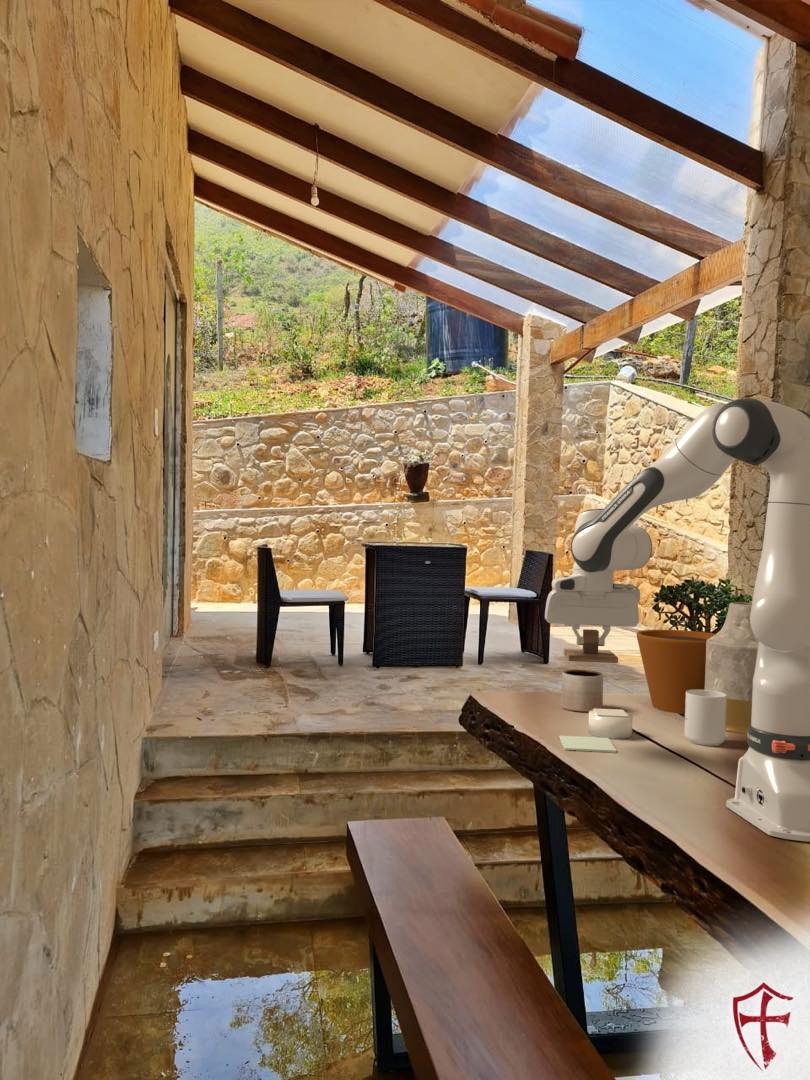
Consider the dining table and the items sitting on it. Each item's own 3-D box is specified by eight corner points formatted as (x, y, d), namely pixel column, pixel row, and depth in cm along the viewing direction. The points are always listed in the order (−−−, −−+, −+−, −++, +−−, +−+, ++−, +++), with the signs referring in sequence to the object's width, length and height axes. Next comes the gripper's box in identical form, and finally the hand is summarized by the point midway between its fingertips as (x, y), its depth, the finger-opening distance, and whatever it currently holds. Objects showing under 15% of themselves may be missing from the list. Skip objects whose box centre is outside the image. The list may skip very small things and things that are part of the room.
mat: (616, 752, 182) (616, 750, 182) (564, 750, 183) (564, 747, 183) (607, 740, 193) (608, 737, 193) (559, 737, 194) (559, 735, 194)
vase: (744, 715, 224) (748, 600, 223) (799, 732, 207) (804, 607, 206) (687, 719, 217) (692, 600, 217) (740, 737, 200) (745, 607, 200)
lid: (618, 663, 182) (619, 634, 182) (568, 661, 183) (569, 632, 183) (609, 655, 193) (610, 628, 193) (563, 653, 193) (564, 626, 193)
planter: (552, 705, 229) (553, 670, 229) (585, 703, 234) (586, 668, 234) (577, 714, 220) (578, 677, 219) (611, 711, 224) (612, 675, 224)
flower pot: (616, 701, 237) (618, 630, 237) (684, 697, 246) (686, 628, 246) (674, 720, 215) (676, 642, 215) (746, 715, 224) (749, 639, 224)
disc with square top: (635, 739, 194) (636, 718, 194) (591, 737, 195) (592, 715, 195) (627, 729, 204) (628, 708, 204) (585, 727, 205) (586, 706, 205)
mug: (726, 748, 189) (728, 698, 189) (685, 744, 191) (686, 695, 191) (721, 736, 201) (723, 689, 201) (682, 732, 203) (683, 686, 203)
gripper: (637, 583, 190) (635, 645, 190) (545, 580, 191) (543, 641, 192) (643, 585, 184) (641, 649, 184) (547, 581, 185) (545, 645, 185)
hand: (590, 645), depth 188 cm, fingers closed on lid, 3 cm apart
